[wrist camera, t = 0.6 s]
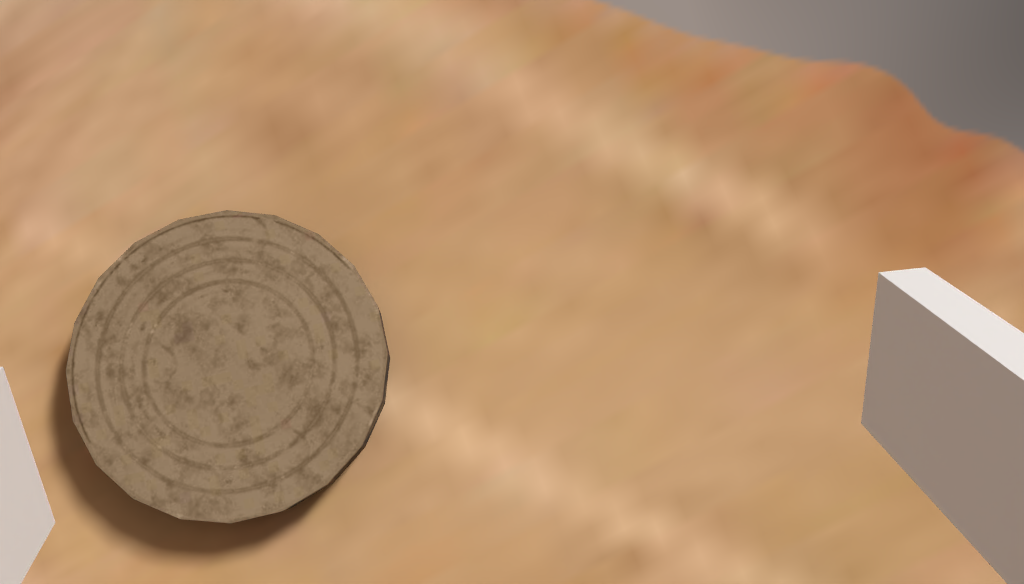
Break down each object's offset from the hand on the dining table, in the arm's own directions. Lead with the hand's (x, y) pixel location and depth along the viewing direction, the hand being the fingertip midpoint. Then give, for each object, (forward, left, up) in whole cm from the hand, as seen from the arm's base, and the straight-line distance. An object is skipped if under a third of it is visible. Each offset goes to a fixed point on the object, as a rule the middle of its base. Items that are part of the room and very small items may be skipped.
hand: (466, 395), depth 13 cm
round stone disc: (+8, +8, -35) cm, 37 cm away
